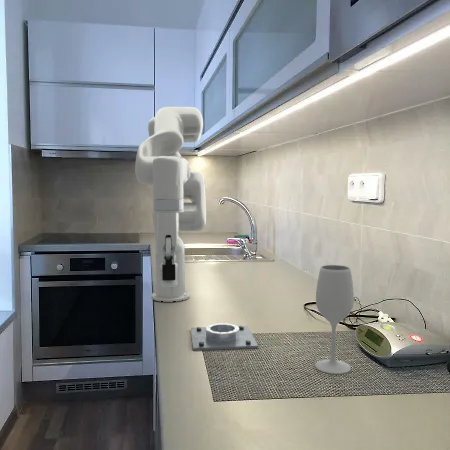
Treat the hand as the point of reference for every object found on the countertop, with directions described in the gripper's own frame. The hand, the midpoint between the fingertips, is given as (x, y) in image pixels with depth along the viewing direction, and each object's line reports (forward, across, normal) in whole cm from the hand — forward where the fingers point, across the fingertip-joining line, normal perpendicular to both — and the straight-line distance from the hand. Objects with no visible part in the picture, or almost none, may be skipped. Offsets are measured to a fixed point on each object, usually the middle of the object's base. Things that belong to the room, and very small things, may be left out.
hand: (169, 277), depth 118 cm
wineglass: (+14, +27, +34) cm, 45 cm away
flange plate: (+14, +7, +13) cm, 20 cm away
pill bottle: (+2, 0, 0) cm, 2 cm away
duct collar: (+14, +7, +13) cm, 20 cm away
